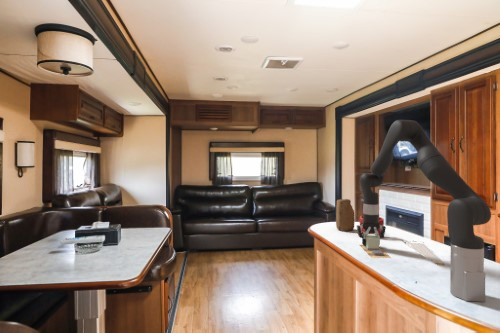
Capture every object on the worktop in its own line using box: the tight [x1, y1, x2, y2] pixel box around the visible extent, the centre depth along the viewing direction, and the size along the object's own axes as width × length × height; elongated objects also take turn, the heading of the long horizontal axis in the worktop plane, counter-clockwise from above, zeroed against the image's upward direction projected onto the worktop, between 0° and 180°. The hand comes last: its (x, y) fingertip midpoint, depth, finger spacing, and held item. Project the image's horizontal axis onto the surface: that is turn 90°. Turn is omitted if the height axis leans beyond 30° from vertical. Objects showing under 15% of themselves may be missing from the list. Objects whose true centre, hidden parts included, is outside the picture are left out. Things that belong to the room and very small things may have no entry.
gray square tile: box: [372, 250, 383, 256], centre depth 142 cm, size 4×4×1 cm
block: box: [335, 198, 356, 232], centre depth 194 cm, size 11×8×20 cm
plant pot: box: [359, 215, 385, 235], centre depth 176 cm, size 13×13×12 cm
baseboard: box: [404, 240, 445, 266], centre depth 146 cm, size 30×3×10 cm
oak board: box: [359, 244, 392, 259], centre depth 147 cm, size 20×9×2 cm, turn 175°
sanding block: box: [362, 234, 380, 250], centre depth 152 cm, size 8×6×6 cm
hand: (370, 245), depth 152 cm, fingers closed on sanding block, 5 cm apart
